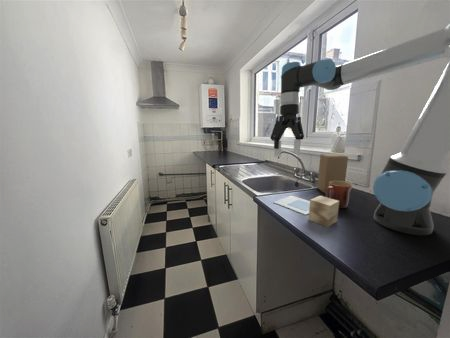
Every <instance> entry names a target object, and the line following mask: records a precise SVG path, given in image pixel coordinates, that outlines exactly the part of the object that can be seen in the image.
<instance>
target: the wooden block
mask: <svg viewBox="0 0 450 338" xmlns="http://www.w3.org/2000/svg"><path fill="white" fill-rule="evenodd" d="M319 158H320V159H319V164H318V165H319V168H318V176H317V178H318V179H317V187H316V188H317V190H318V189H319V191H321V192H322V193H323V194H325V195H326V188H327V187H329V182H330V181H343V182H346V178H347V177H346V176H347V168H348V162H349V156H348V155H344V154H340V153H321V154H320V156H319ZM329 193H330V192H329Z"/></svg>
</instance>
